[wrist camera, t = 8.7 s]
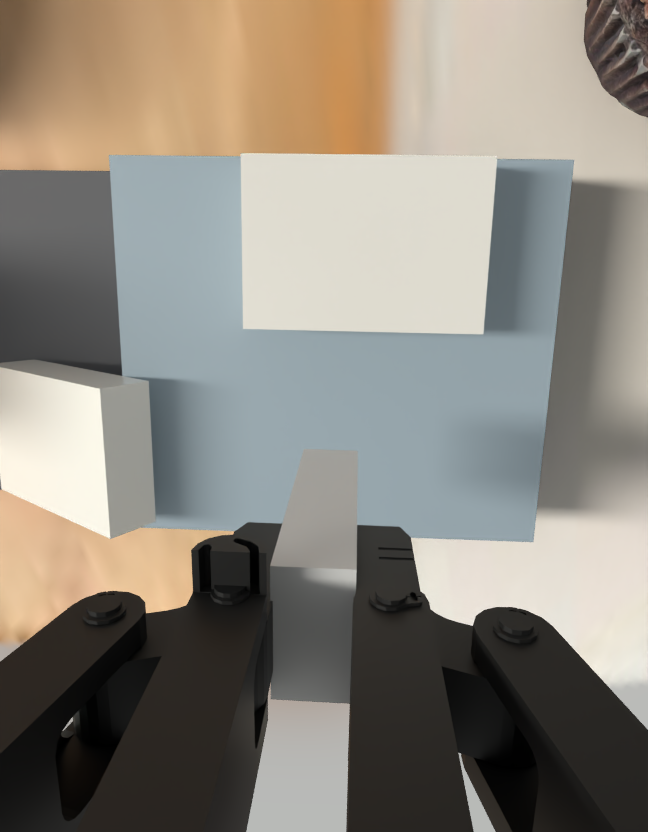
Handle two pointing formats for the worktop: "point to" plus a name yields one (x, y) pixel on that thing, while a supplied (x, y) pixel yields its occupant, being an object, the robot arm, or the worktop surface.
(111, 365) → the mat
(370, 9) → the worktop surface
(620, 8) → the cupcake
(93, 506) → the rear tile
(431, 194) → the front tile
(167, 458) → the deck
